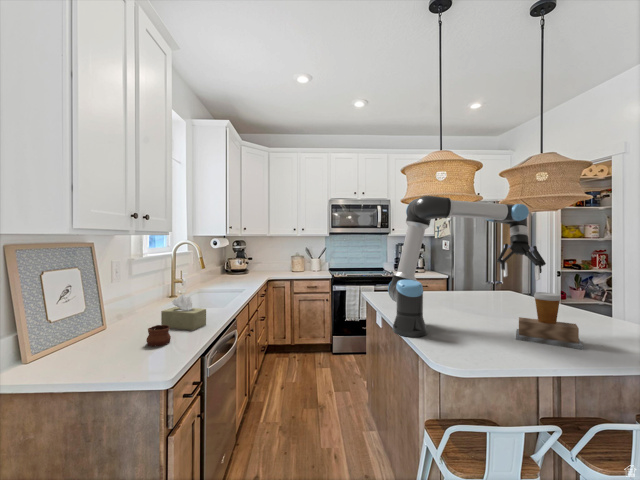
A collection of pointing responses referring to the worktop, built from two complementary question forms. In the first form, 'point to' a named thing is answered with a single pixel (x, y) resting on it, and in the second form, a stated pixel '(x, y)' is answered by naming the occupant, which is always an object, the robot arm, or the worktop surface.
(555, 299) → the disposable coffee cup
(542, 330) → the stand
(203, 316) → the tissue box
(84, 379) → the worktop surface
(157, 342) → the ceramic pot
